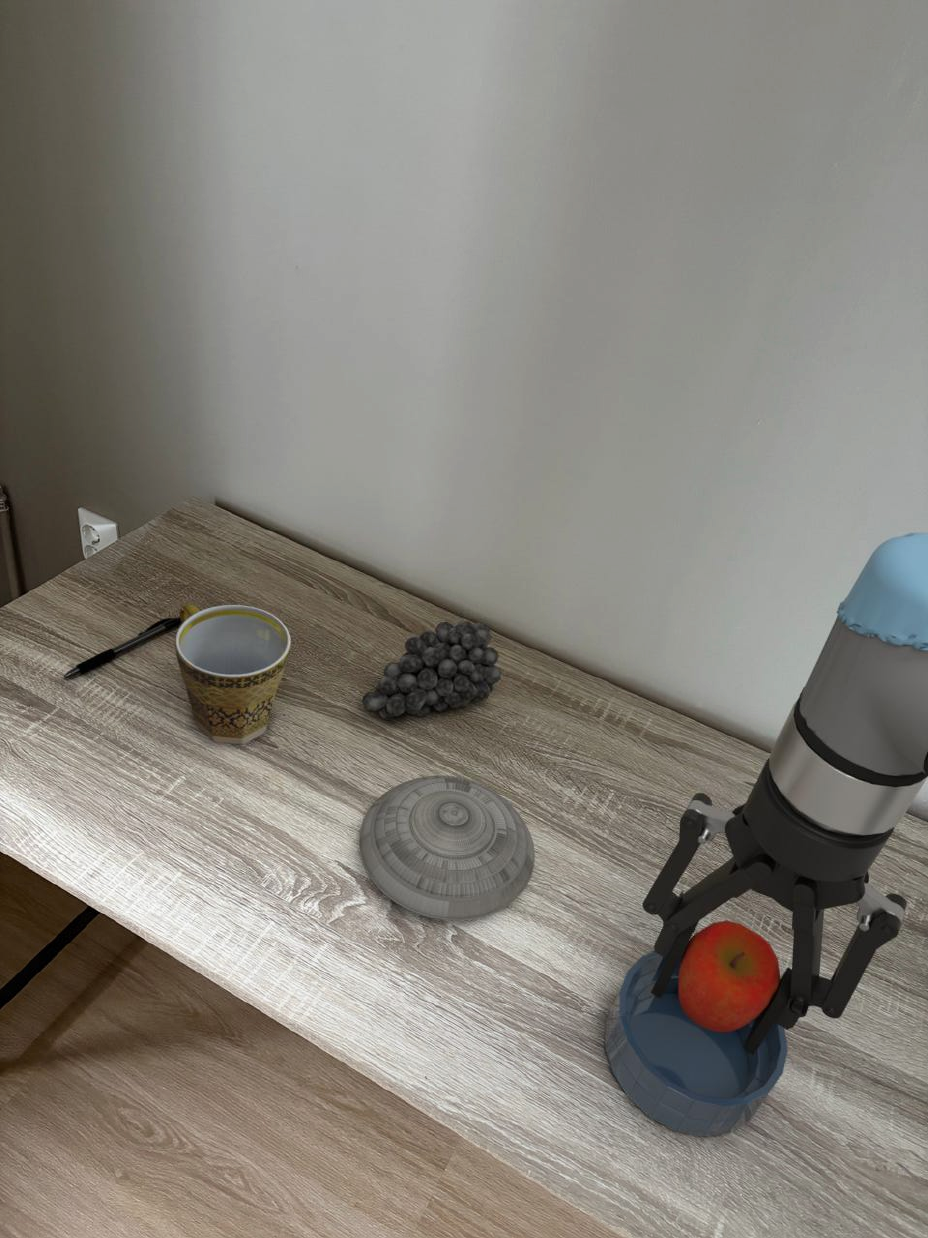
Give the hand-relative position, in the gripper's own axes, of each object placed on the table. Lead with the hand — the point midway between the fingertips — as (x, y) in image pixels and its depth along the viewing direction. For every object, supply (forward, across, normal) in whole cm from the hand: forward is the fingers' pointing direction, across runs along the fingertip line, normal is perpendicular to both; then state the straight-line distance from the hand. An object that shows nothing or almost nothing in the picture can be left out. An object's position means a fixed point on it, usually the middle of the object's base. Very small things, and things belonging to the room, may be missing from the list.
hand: (707, 1008), depth 69 cm
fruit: (+7, +36, -20) cm, 41 cm away
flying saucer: (+7, +24, -4) cm, 25 cm away
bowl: (+6, 0, 0) cm, 6 cm away
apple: (+1, 0, 0) cm, 1 cm away
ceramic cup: (+7, +50, -6) cm, 50 cm away
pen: (+7, +63, -6) cm, 64 cm away
